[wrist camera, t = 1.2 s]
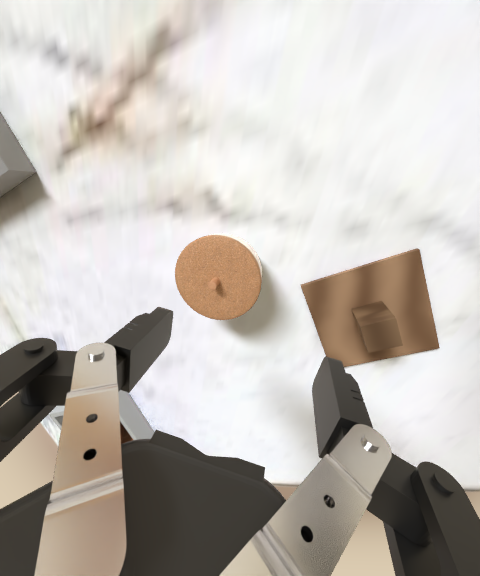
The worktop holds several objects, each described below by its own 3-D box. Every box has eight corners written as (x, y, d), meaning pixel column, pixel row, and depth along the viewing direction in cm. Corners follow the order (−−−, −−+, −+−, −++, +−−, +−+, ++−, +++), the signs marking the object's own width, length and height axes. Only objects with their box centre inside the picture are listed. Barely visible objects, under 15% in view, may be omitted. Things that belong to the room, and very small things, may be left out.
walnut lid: (414, 247, 32) (442, 259, 26) (434, 343, 36) (462, 372, 30) (300, 283, 36) (302, 300, 30) (329, 364, 40) (336, 393, 35)
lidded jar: (182, 259, 38) (150, 279, 29) (231, 210, 34) (211, 216, 25) (229, 309, 39) (212, 342, 31) (282, 268, 35) (279, 293, 27)
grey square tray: (123, 385, 51) (110, 400, 47) (164, 447, 55) (155, 465, 52) (64, 399, 56) (48, 414, 52) (106, 454, 61) (94, 471, 57)
